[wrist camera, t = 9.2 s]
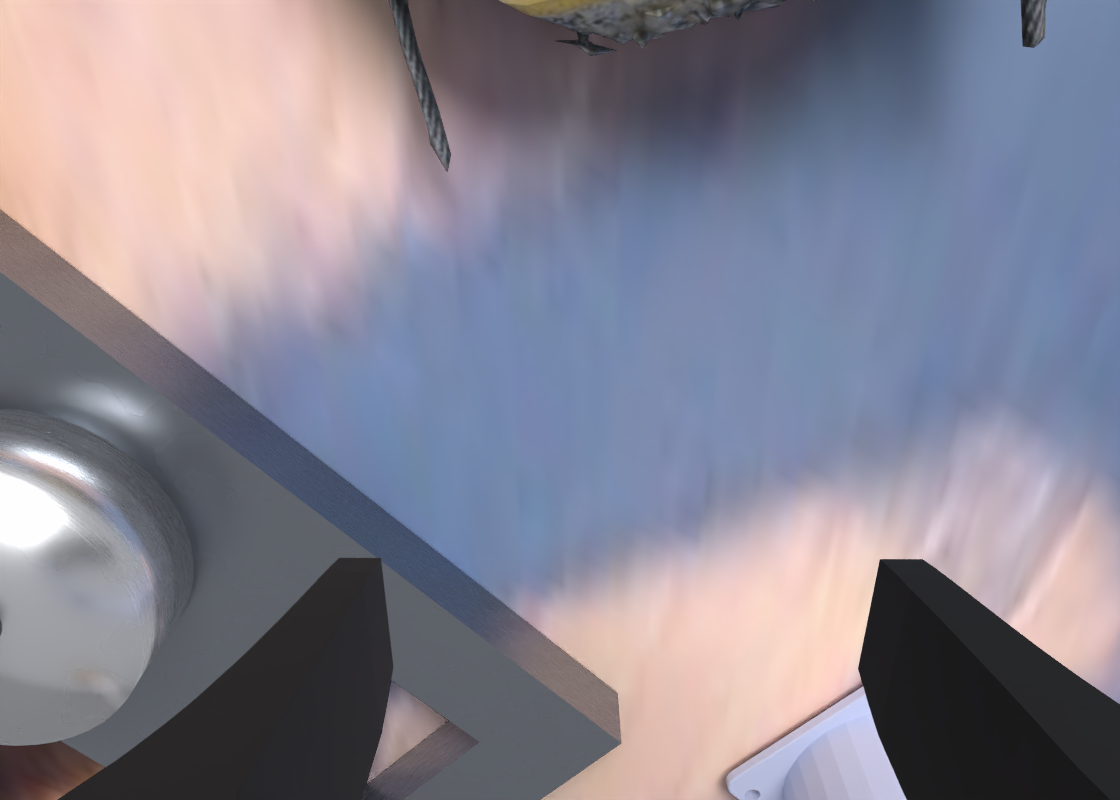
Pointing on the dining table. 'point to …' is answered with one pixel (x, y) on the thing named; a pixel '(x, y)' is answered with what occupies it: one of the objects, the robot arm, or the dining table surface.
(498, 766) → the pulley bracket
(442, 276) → the dining table surface
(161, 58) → the dining table surface
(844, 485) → the dining table surface
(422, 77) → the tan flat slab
